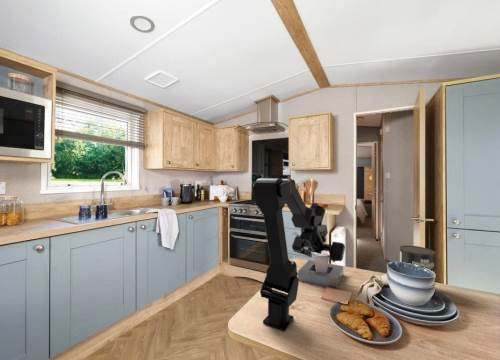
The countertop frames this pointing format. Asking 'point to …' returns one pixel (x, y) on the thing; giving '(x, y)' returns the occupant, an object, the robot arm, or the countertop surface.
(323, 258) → the smoothie
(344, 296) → the tile
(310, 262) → the socket block
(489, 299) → the countertop surface
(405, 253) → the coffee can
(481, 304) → the countertop surface
